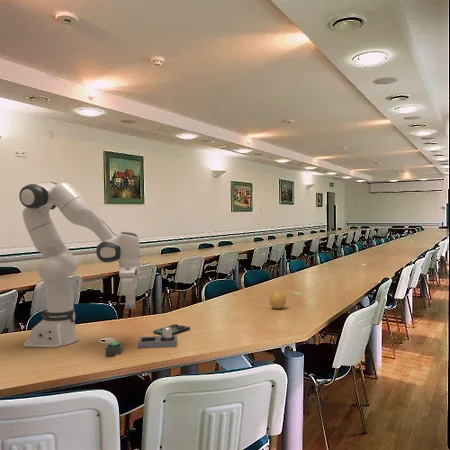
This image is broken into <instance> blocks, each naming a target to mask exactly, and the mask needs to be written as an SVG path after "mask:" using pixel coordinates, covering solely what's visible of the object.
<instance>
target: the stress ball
mask: <svg viewBox="0 0 450 450" xmlns="http://www.w3.org/2000/svg"><path fill="white" fill-rule="evenodd" d="M268 302H269V306H271V307H272V308H274V309H275V310H280V309H282V308H283V307H284V306H285V305H286V303H287V297H286V295H285V294H284V293H283V292H281V291H274V292H272V293H271V294H270V295H269V298H268Z"/></svg>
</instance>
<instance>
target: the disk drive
mask: <svg viewBox="0 0 450 450" xmlns="http://www.w3.org/2000/svg"><path fill="white" fill-rule="evenodd" d="M168 326H169V327H172V336H176V335H177V336H178V335H179V334H182V333H185V332H188V331H191V326H185V325H179V324H176V323H174V324H171V325H168ZM152 332H153V334H154V335H156V336H163V327H161V328H157V329H155V330H153V331H152Z"/></svg>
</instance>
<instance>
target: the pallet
mask: <svg viewBox="0 0 450 450" xmlns="http://www.w3.org/2000/svg"><path fill="white" fill-rule="evenodd" d="M177 347H178V334H177V335H174V336H172V341H163V336H161V335H155V336H140V337H139V339H138V343H137V349H159V348H160V349H161V348H177Z"/></svg>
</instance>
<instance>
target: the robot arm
mask: <svg viewBox="0 0 450 450" xmlns="http://www.w3.org/2000/svg"><path fill="white" fill-rule="evenodd" d="M18 196H19V201H20V203H21V204H22V205H23V206H24V209H23V210H22V219H23V222H24V226H25V228H26V231H27V232H28V234H29V236H30V239H31V241H32V243H33V245H34V247H35V249H36V250H37V251H38V252H40V253H41V255H42V256H43V257H44V258H45V259H44V260H42V261H41V263H40V264H39V266H38V269H37V270H38V275H39V277H40V278H41V279H42V282H43V284H44V288H45V292H46V294H45V295H46V308H47V309H46V310H44V312H43V313H42V315H41V317H42V320H41V321H40V322H38V323H37V324H36V325H35V326H34V327H32V328H31V330H30V332H29V336H28V337H29V338H27V339H26V340H25V341H24V343H23V347H24V348H59V347H62V346H66V345H71V344H73V343H75V342H78V340H79V337H78V334H77V331H76V329H77V328H76V323H75V321H76V312H75V310H76V309H75V307H74V291H73V289H72V287H71V285H70V279H69V277H70V276H72V275H74V274H75V273H76V271H77V270H78V267H79V261H78V258H77V257H76V256H75V255H73V254H72V253H71V251H70V250H69V248H68V247H67V246H66V244H65V243H64V241H63V240H62V239H61V236H60V235H59V233H58V231H57V228H56V226H55V224H54V222H53V220H52V217H51V216H50V211H51V210H55V208H57V209H58V210H59V211H60V212H61V214H62V215H63V216H64V217H65V219H67V220H68V221H69V222H70V223H72V224H73V225H76V226H80V227H84V228H86V229H89V230H90V231H91V232H92V233H94V234H95V235H96V236H97V238H99V240H100V241H101V242H100V243H99V244H98V245H97V247H96V252H95V253H96V256H97V259H98V260H100V261H101V262H103V263H107V264H108V263H113V262H118V270H119V271H118V276H119V278H120V283H121V285H120V286H121V293H122V296H125V298H126V297H127V303H128V304H131V303H132V293H133V292H134V291H135V290H136V289H137V287H138V280H137V278H138V275H140V274H141V261H140V252H141V249H140V246H141V245H140V239H139V236H138V234H136V233H135V232H131V231H130V232H128V231H122V232H120V233H118V235H117V234H115V232H114V231H112V229H111V228H110V226H108V225H107V224H106V223H105V222H104V221H103V220H102V218H101V217H100V216H99V215H98V214H97V213H96V212H95V210H94V209H93V208H92V207H91V206H90V204H89V203H88V202H87V200H86V199H85V198H84V197H83V196H82V195H81V193H80V192H79V191H78V190H77V189H75V187H74V186H73V185H71V184H69V182H67V181H66V182H65V181H62V182H58V183H57V182H53V181H50V182H45V181H43V182H37V183H30V184H27V185H25V186H23V187H22V188H21V189H20V191H19V195H18Z"/></svg>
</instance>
